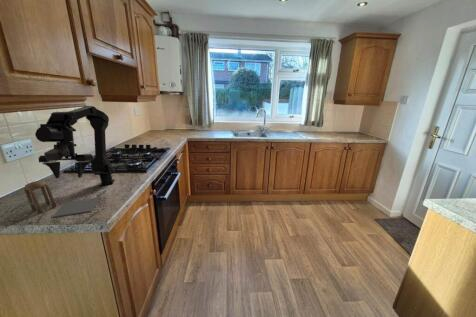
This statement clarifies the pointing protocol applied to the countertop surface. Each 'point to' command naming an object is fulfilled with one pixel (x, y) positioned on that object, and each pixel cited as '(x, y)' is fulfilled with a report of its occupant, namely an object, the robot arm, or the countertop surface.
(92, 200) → the mat
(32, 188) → the stool
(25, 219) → the countertop surface
